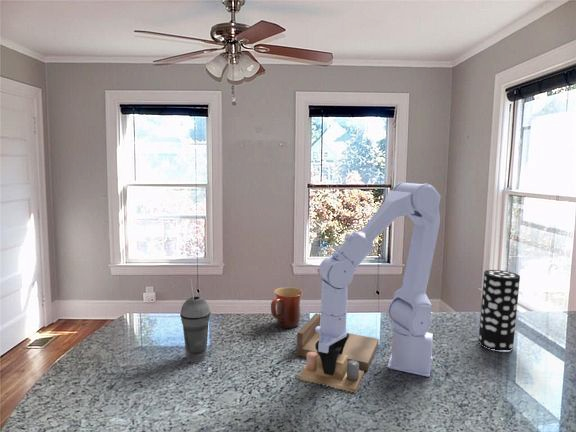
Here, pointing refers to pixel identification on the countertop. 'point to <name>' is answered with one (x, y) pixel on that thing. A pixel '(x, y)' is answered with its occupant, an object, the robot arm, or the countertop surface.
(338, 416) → the countertop surface
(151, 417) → the countertop surface
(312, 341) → the light wood stepped block
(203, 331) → the beverage cup
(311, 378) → the wooden stand
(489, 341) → the spotted tube
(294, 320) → the mug
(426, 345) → the robot arm
